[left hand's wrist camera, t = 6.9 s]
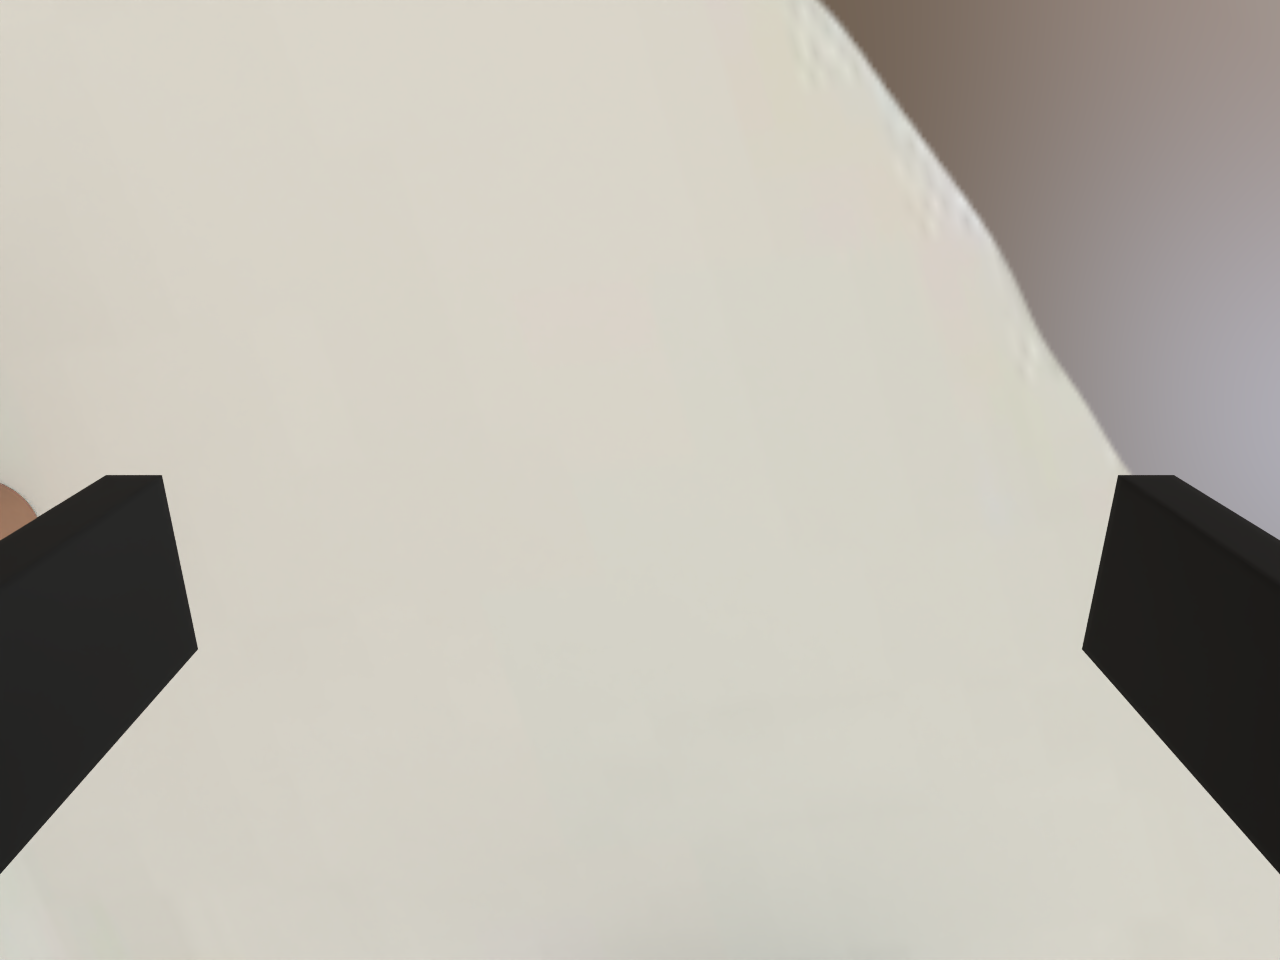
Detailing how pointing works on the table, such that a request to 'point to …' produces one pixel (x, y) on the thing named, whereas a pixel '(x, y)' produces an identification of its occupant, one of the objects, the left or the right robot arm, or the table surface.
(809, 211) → the table surface
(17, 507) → the jar
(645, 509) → the table surface
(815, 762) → the table surface
